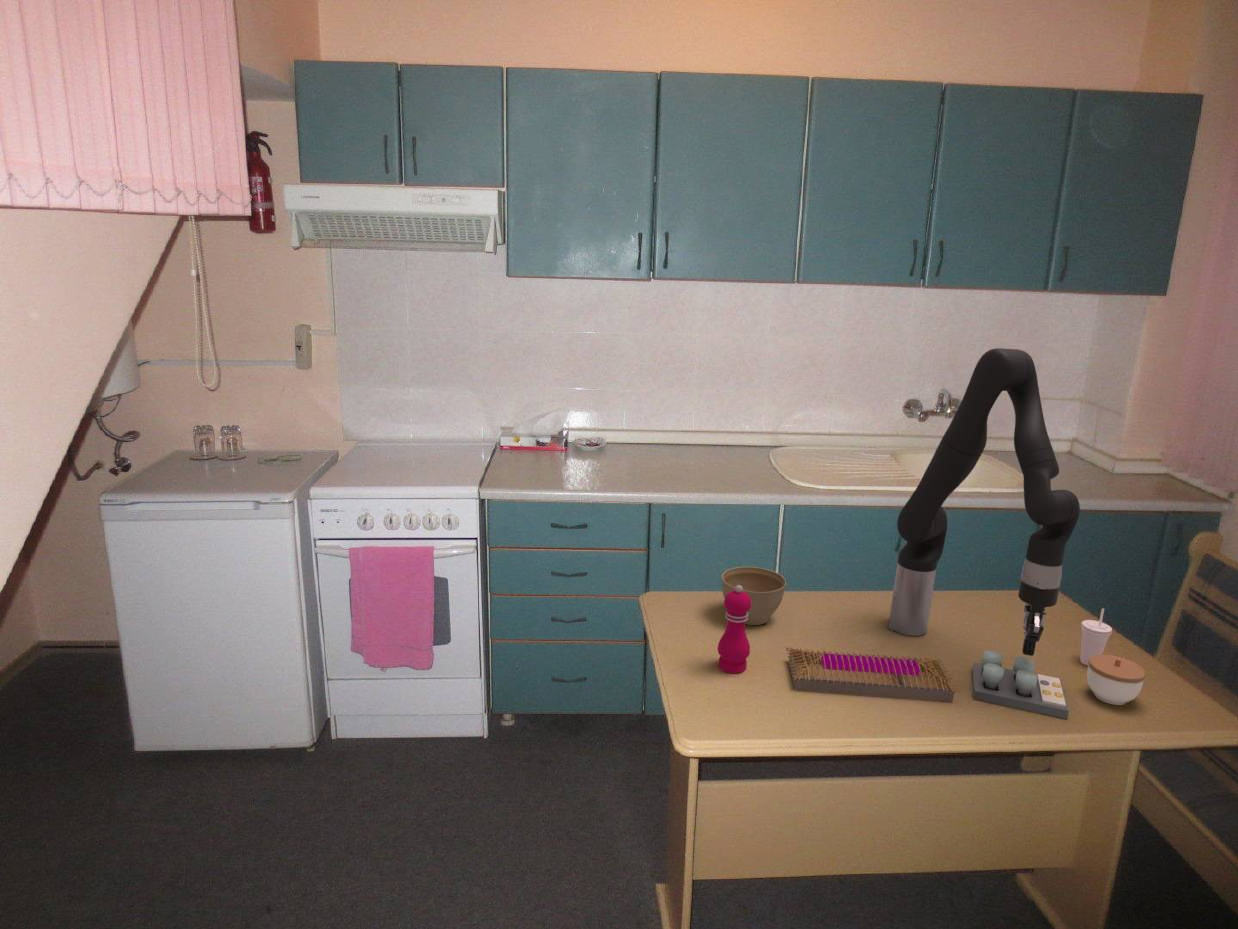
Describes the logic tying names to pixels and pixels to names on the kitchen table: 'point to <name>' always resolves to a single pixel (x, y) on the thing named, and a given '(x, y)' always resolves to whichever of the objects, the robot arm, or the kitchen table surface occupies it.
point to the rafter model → (871, 665)
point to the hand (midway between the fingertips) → (1027, 653)
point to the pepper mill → (735, 632)
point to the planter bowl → (756, 590)
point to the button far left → (991, 658)
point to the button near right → (1025, 682)
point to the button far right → (1023, 664)
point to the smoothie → (1093, 638)
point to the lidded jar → (1114, 678)
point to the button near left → (992, 675)
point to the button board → (1041, 699)
